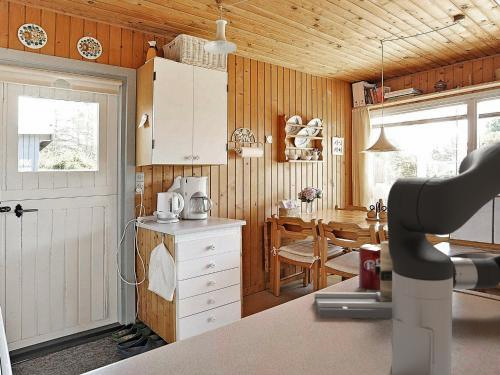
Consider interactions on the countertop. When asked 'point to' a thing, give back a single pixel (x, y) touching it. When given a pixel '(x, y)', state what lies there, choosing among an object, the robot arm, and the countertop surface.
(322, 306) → the slider track
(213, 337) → the countertop surface
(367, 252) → the soda can
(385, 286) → the knob slider
